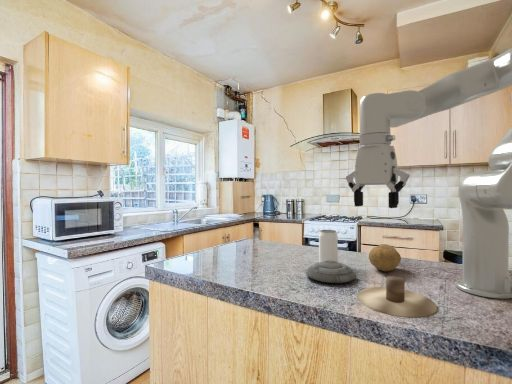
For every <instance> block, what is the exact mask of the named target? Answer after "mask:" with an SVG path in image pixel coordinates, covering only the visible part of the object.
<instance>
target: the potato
mask: <svg viewBox="0 0 512 384" xmlns="http://www.w3.org/2000/svg"><path fill="white" fill-rule="evenodd" d="M368 260H369V262H370V264H371V265H372V266H373V267H374V268H376V269H377V270H378V271H382V272H390V271H393V270H395V269H396V268H397V267H398V266H399V265H400V263H401V262H402V257H401V254H400V253H399V251H398V250H397V249H396V248H394V247H393V246H392V245H389V244H385V243H384V244H383V243H382V244H381V243H380V244H379V245H376V246H375V247H372V249H371V250H370V251H369V253H368Z"/></svg>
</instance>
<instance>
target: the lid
mask: <svg viewBox="0 0 512 384" xmlns="http://www.w3.org/2000/svg"><path fill="white" fill-rule="evenodd" d="M385 278H386V280H385V284H386V285H385V286H386V287H385V286H384V287H383V286H373V287H366V288H365V289H361V290H360V291H359V292H358V293H357V300H358V301H359V302H360V303H361V304H362V305H363V306H365V307H367V308H369V309H372V310H374V311H376V312H379V313H382V314H386V315H391V316H395V317H403V318H404V317H405V318H422V317H424V318H425V317H429V316H431V315H433V314H435V313H436V312H437V311H438V310H437V304H436V303H435V301H434V300H432V299H430V298H429V297H427V296H425V295H422V294H420V293H417V292H414V291H411V290H406V289H405V286H406V285H405V283H406V282H405V278H403V277H400V276H393V275H392V276H387V277H385Z"/></svg>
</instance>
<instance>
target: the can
mask: <svg viewBox="0 0 512 384" xmlns="http://www.w3.org/2000/svg"><path fill="white" fill-rule="evenodd" d="M338 238H339V237H338V233H337V231H336V230H333V229H321V230H320V231H319V235H318V262H323V261H327V260H332V261H336V262H339V257H338V256H339V254H338V250H339V249H338V248H339V247H338V246H339V244H338Z"/></svg>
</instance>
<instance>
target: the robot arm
mask: <svg viewBox="0 0 512 384" xmlns="http://www.w3.org/2000/svg"><path fill="white" fill-rule="evenodd" d="M509 87H512V47H510V48H508V49H507V50H506V51H503V52H502V53H500V54H499V55H496V56H495V57H492V58H490V59H487V60H484V61H482V62H480V63H477V64H474V65H472V66H468V67H466V68H464V69H461V70H458V71H455V72H452V73H450V74H448V75H444V76H443V77H442V78H440V79H437V80H436V81H435V82H433V83H431V84H430V85H428V86H425V87H423V88H422V89H420V90H413V89H411V90H409V89H408V90H402V91H396V92H392V93H391V92H390V93H385V92H375V93H373V92H372V93H369V94H366V95H364V96H362V97H361V99H360V101H359V148H358V149H357V152H356V156H355V163H354V164H355V166H354V167H355V168H354V171H352V172H351V173H349V174H348V175H347V176H346V177H345V179H346V182H347V185H348V187H349V188H350V189H351V191H352V192H353V202H354V207H363V206H364V192H363V191H362V190H363V189H364V187H366V186H368V185H369V186H375V185H376V186H381V185H382V186H386V187H387V188H388V189H389V190H390V192H388V208H389V209H396V208H398V205H399V203H400V201H399V198H400V197H399V196H400V195H399V193H400V192H401V190H403V188H404V187H405V186H406V184H407V182H408V180H409V179H410V176H411V175H410V174H409V173H407V172H406V171H403V170H401V169H399V168H398V161H397V160H398V159H397V154H396V149H395V146H394V145H392V142H394V141H395V140H396V135H395V134H393V135H392V133H391V128H399V127H401V126H403V125H406V124H409V123H412V122H414V121H418V120H419V119H423V118H426V117H428V116H432V115H433V114H437V113H440V112H444V111H448V110H450V109H453V108H455V107H458V106H461V105H463V104H466V103H469V102H472V101H475V100H477V99H481V98H482V97H485V96H488V95H491V94H494V93H496V92H499V91H502V90H505V89H506V88H507V89H508V88H509ZM510 104H511V105H512V91H511V92H510ZM487 159H488V160H487V161H488V166H489V168H490V169H491V170H478V171H475V172H471V173H469V174H467V175H466V176H464V177H463V179H461V181H460V183H459V185H458V197H459V202H460V206H461V212H462V213H461V214H462V278H461V279H457V280H456V281H455V287H456V288H457V289H459V290H461V291H463V292H466V293H469V294H470V295H475V296H479V297H485V298H491V299H500V300H501V299H504V300H505V299H512V278H511V276H510V273H509V252H510V250H509V243H510V241H509V239H510V235H509V230H510V227H509V220H508V216H507V214H506V213H505V210H512V126H511V127H510V128H509V129H508V131H507V132H506V133H505V134H504V136H502V138H501V139H500V141H498V143H497V144H496V145H495V147H494V148H493V149H492V150H491V152H490V153H489V156H488V158H487ZM399 177H400V178H399ZM354 180H355V182H354Z"/></svg>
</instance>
